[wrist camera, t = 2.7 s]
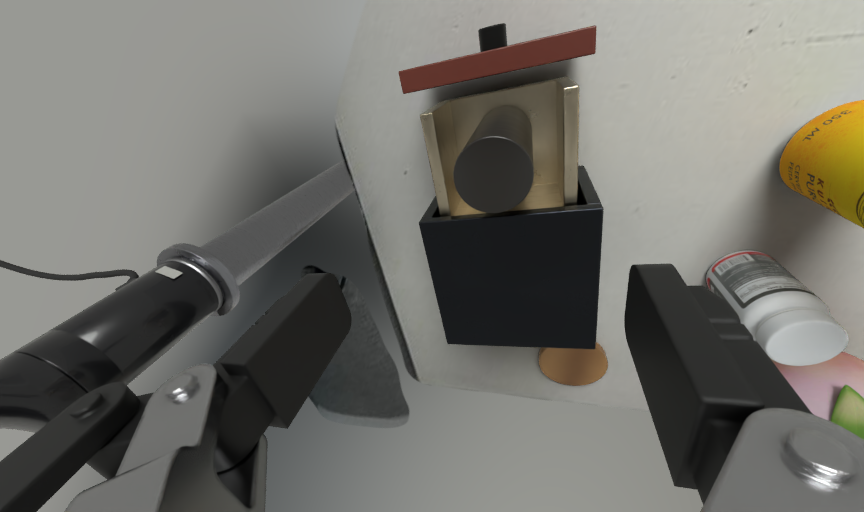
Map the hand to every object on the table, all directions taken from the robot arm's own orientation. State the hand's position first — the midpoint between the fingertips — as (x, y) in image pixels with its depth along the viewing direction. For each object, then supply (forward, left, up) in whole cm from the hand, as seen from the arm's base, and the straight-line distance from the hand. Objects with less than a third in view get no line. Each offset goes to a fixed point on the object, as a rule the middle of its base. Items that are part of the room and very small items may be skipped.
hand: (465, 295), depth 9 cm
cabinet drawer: (0, +1, -20) cm, 20 cm away
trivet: (+5, -25, -21) cm, 33 cm away
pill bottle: (+18, -14, -22) cm, 31 cm away
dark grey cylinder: (0, 0, -19) cm, 19 cm away
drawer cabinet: (0, -9, -21) cm, 23 cm away
